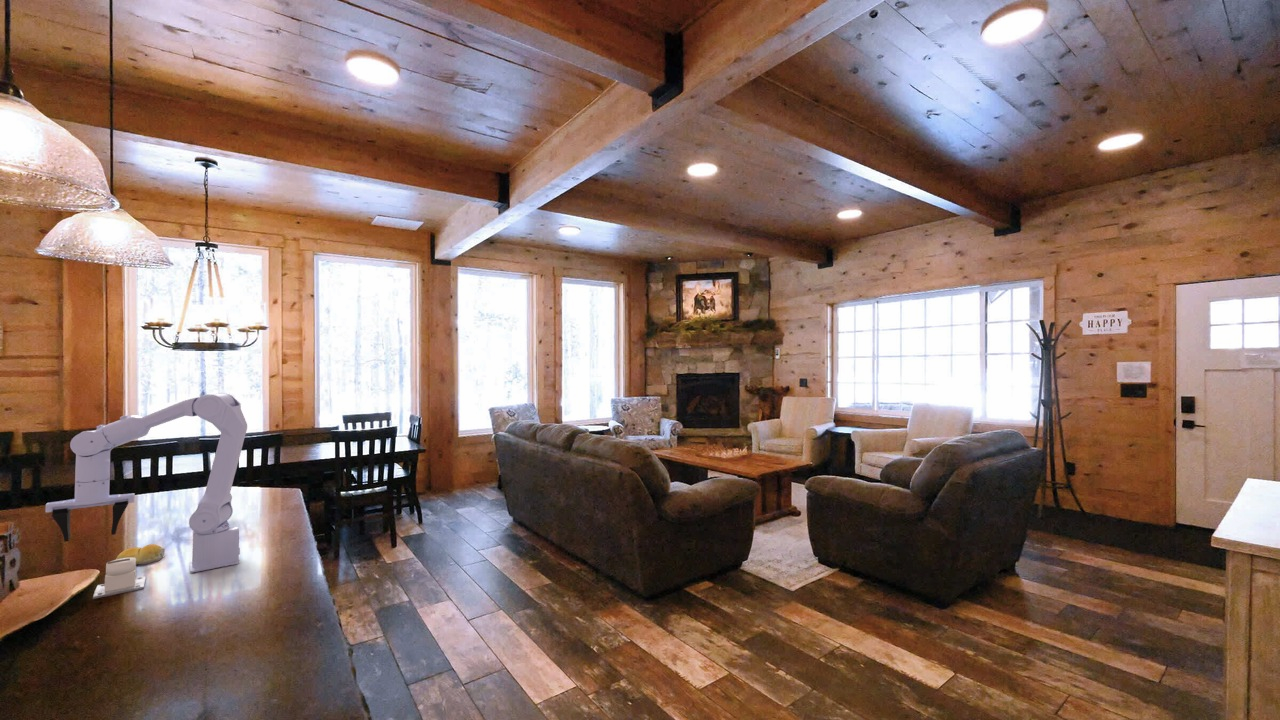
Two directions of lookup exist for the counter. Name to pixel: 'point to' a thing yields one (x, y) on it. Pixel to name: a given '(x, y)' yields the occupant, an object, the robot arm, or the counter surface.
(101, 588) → the plate
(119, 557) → the bread roll
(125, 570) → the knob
